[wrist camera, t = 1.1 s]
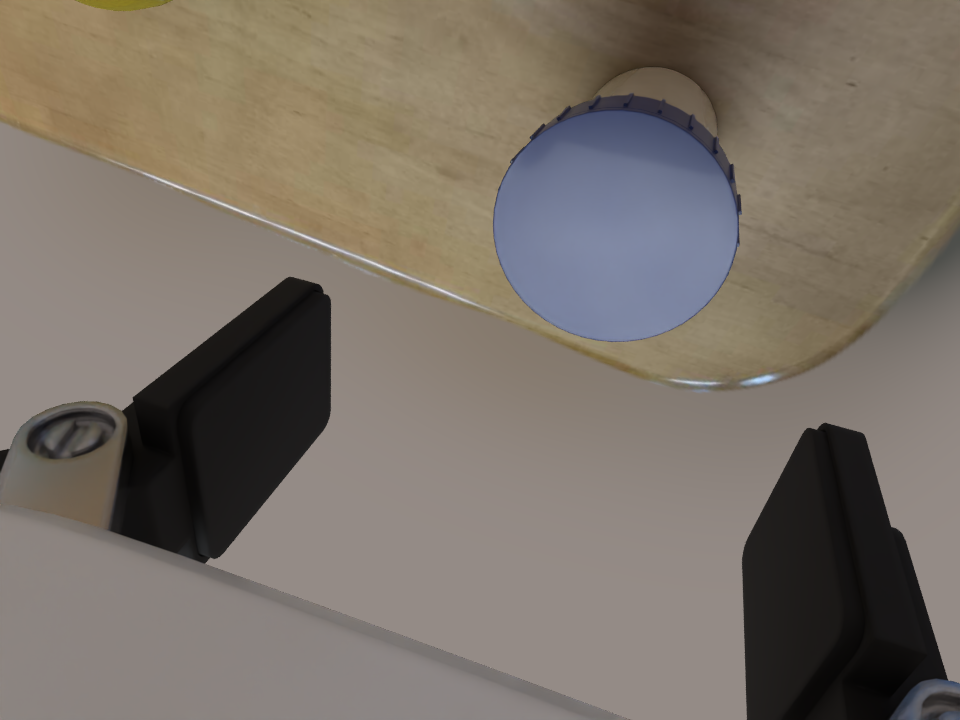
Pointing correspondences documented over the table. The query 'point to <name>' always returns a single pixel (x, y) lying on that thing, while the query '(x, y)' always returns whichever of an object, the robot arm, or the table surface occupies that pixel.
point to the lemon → (123, 4)
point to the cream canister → (665, 92)
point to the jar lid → (618, 219)
